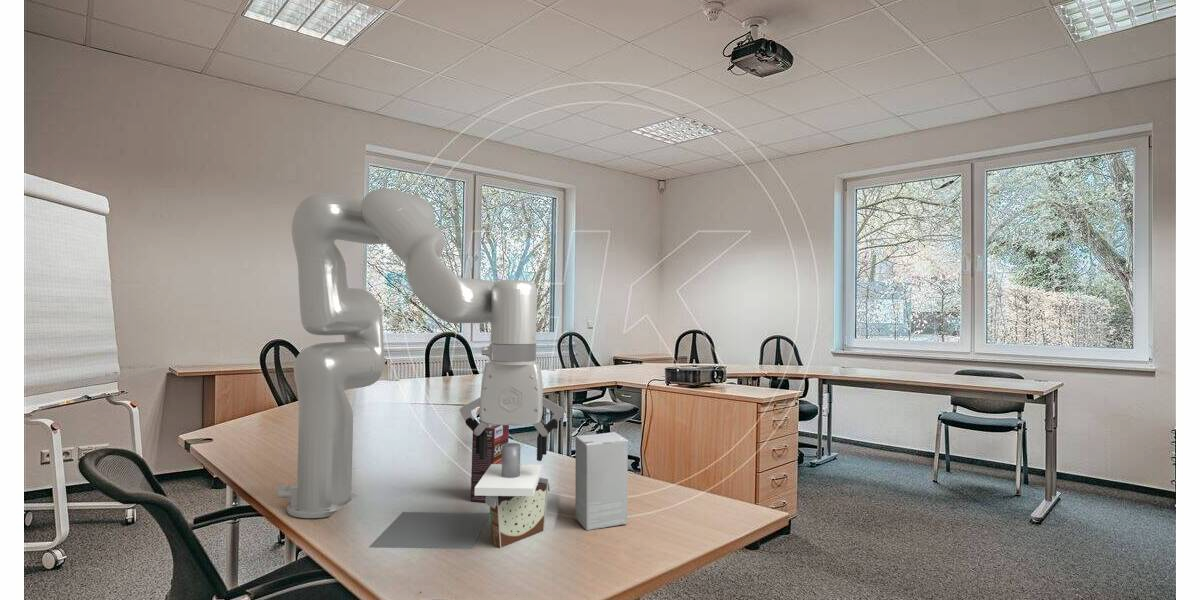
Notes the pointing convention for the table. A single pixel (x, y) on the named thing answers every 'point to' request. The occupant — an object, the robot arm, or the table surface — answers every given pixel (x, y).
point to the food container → (518, 515)
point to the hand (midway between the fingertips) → (511, 458)
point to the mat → (433, 530)
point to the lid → (509, 476)
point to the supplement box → (495, 440)
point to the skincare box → (601, 480)
